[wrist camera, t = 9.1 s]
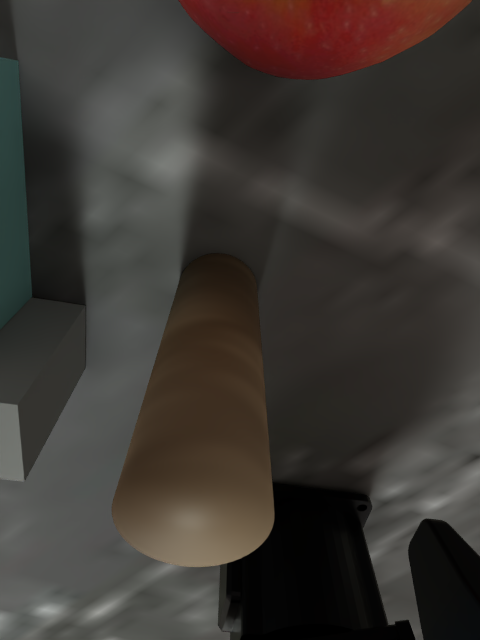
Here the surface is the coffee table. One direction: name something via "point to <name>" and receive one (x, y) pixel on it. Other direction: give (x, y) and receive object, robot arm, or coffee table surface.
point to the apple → (319, 31)
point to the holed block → (12, 198)
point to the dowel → (202, 428)
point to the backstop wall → (37, 378)
